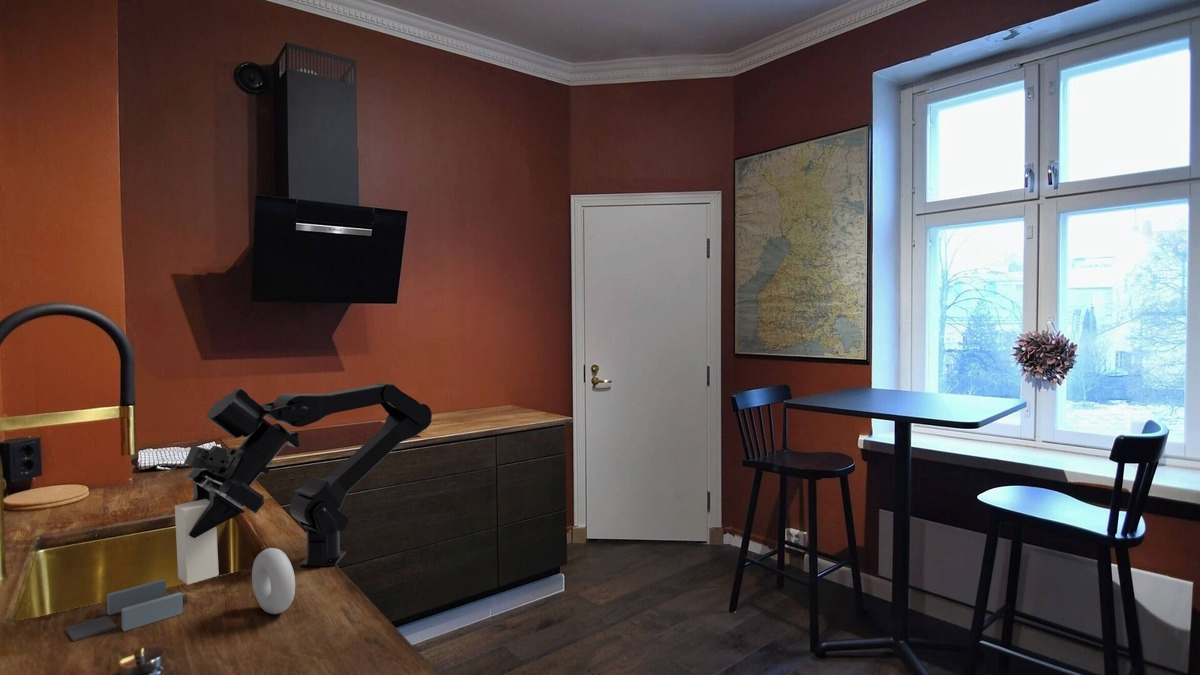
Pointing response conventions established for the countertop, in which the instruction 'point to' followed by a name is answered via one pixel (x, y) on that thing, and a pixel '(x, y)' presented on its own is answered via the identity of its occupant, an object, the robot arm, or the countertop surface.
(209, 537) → the block
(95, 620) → the mat
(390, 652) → the countertop surface
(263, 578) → the donut
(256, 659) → the countertop surface
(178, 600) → the channel
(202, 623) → the countertop surface
